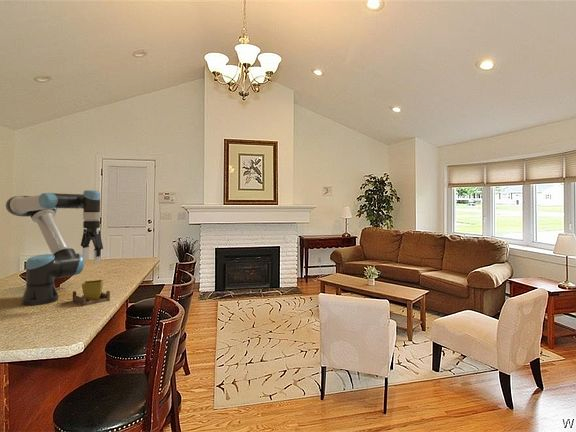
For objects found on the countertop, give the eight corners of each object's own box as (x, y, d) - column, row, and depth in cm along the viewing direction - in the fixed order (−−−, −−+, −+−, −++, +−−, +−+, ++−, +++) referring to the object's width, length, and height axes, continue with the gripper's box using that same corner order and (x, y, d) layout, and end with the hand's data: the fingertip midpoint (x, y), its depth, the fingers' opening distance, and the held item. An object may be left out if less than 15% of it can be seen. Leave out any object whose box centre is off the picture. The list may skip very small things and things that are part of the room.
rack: (83, 305, 170) (83, 295, 170) (72, 301, 178) (72, 291, 177) (109, 300, 180) (109, 291, 180) (98, 296, 188) (98, 287, 188)
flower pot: (101, 299, 175) (101, 281, 176) (82, 301, 172) (81, 283, 172) (103, 296, 183) (103, 279, 184) (84, 298, 180) (84, 281, 180)
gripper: (110, 221, 173) (110, 263, 174) (88, 219, 188) (88, 257, 189) (94, 221, 167) (94, 265, 168) (73, 219, 182) (73, 259, 183)
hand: (91, 261), depth 178 cm, fingers open, 13 cm apart
